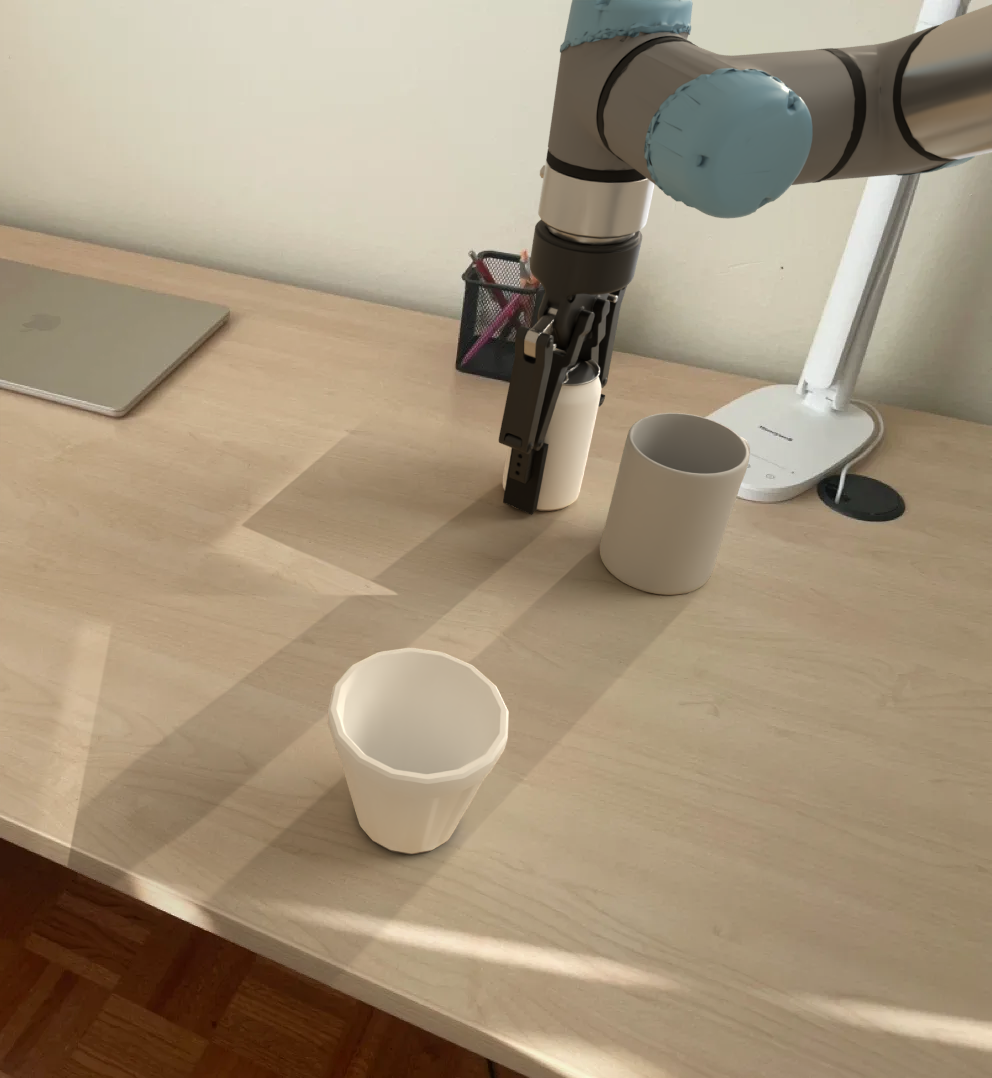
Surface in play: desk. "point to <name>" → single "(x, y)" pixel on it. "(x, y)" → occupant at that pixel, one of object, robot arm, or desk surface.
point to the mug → (672, 502)
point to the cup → (415, 743)
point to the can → (568, 436)
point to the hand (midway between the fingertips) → (540, 486)
